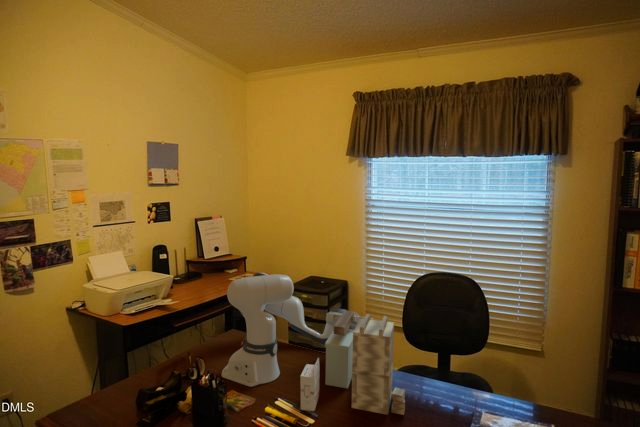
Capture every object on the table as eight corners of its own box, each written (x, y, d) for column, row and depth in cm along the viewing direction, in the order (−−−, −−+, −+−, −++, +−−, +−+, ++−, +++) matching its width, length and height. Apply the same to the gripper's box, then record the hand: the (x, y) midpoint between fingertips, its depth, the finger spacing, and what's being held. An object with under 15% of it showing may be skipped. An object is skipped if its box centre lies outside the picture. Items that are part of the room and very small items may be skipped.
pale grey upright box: (324, 384, 135) (325, 343, 134) (334, 365, 149) (335, 327, 148) (348, 389, 132) (348, 346, 131) (356, 369, 147) (357, 330, 145)
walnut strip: (333, 333, 135) (333, 326, 135) (344, 317, 152) (344, 310, 152) (344, 335, 134) (344, 327, 134) (354, 318, 151) (354, 311, 151)
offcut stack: (391, 412, 119) (391, 395, 118) (392, 403, 124) (393, 386, 123) (404, 415, 118) (405, 397, 117) (405, 406, 123) (406, 389, 122)
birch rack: (351, 407, 121) (353, 326, 119) (358, 387, 134) (360, 313, 131) (387, 414, 118) (390, 331, 116) (391, 392, 130) (394, 316, 128)
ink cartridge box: (305, 395, 128) (306, 355, 127) (319, 397, 127) (320, 356, 126) (299, 410, 120) (299, 367, 119) (314, 412, 119) (314, 368, 118)
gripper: (375, 333, 155) (371, 328, 143) (329, 327, 161) (321, 322, 149) (376, 318, 157) (373, 312, 145) (331, 313, 163) (324, 306, 151)
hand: (346, 317), depth 147 cm, fingers closed on walnut strip, 4 cm apart
